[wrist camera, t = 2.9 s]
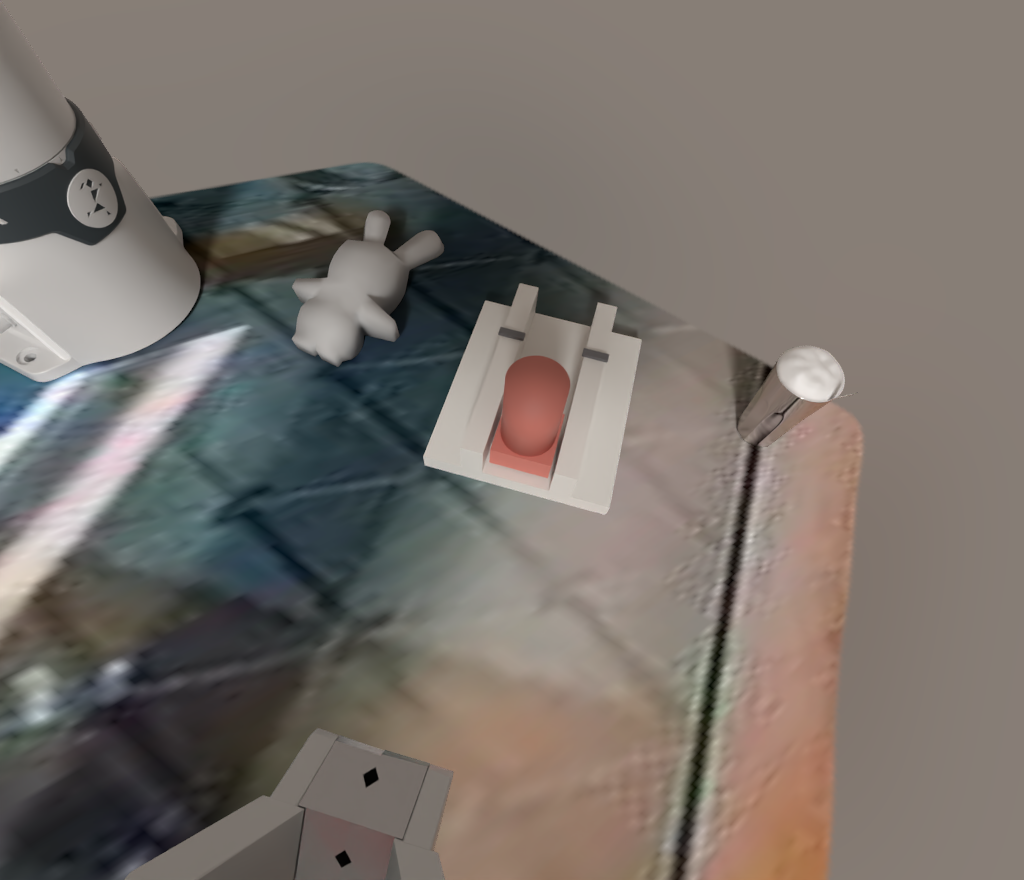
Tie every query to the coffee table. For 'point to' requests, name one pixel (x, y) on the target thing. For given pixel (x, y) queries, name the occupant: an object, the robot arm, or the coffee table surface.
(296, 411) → the coffee table surface
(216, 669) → the coffee table surface
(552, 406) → the red plug
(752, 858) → the coffee table surface
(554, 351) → the white slider track base
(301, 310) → the bunny figurine
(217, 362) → the coffee table surface
